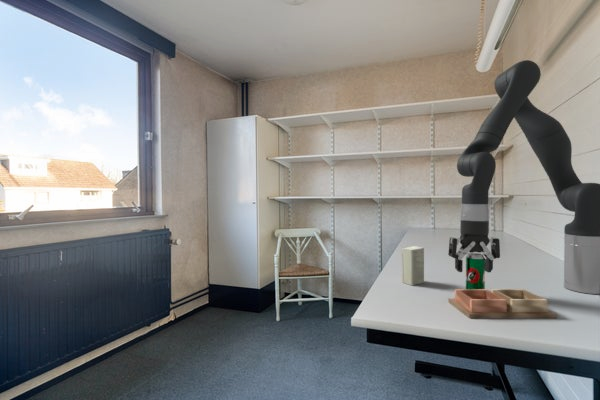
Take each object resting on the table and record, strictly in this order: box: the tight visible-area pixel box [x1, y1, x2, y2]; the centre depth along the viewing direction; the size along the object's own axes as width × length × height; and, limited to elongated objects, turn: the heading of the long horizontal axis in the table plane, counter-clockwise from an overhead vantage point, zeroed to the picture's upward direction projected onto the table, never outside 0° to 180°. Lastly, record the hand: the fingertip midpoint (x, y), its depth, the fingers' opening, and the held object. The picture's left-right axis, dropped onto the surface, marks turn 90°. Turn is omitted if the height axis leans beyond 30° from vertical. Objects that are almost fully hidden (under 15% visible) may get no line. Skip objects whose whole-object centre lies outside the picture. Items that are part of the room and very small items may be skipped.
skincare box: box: [401, 245, 425, 286], centre depth 104 cm, size 6×4×12 cm
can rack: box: [447, 288, 557, 319], centre depth 80 cm, size 21×11×4 cm, turn 89°
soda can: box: [465, 252, 486, 289], centre depth 93 cm, size 5×5×12 cm
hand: (473, 271), depth 93 cm, fingers open, 8 cm apart
